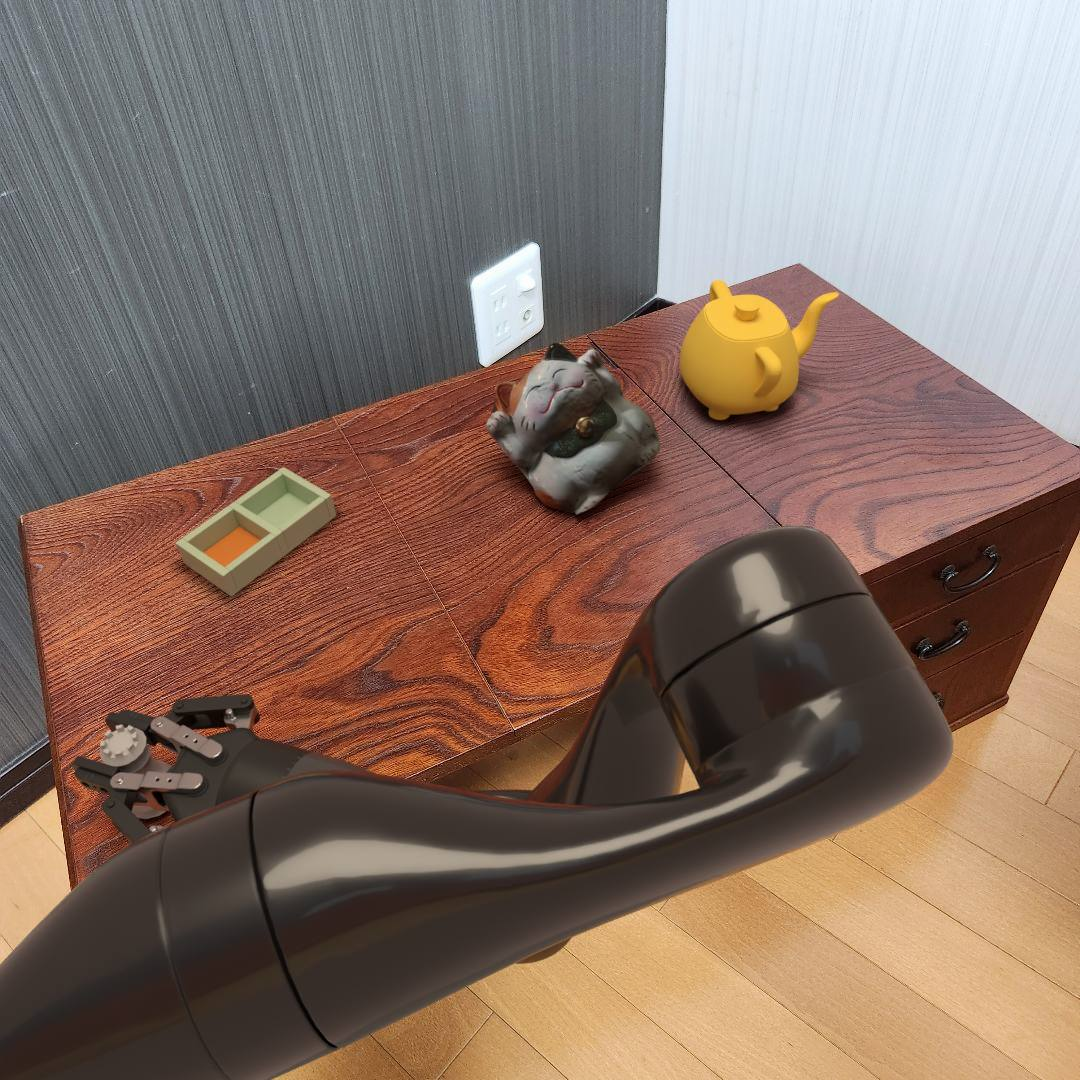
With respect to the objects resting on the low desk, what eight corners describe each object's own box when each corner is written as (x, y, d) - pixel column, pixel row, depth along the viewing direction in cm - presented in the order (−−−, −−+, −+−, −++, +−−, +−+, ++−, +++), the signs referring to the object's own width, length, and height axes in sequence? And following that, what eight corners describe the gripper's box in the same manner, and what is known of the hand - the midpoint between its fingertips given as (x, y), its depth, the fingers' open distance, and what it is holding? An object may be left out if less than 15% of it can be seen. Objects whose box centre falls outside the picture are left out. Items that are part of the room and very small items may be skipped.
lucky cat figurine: (553, 535, 91) (486, 415, 84) (520, 498, 101) (459, 389, 95) (682, 456, 92) (625, 332, 85) (636, 427, 102) (583, 315, 96)
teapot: (777, 449, 99) (796, 356, 90) (655, 409, 104) (661, 318, 96) (820, 379, 107) (841, 288, 98) (704, 346, 112) (714, 256, 104)
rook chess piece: (195, 792, 72) (162, 735, 67) (145, 833, 70) (107, 778, 64) (163, 759, 74) (128, 702, 69) (113, 798, 72) (73, 743, 66)
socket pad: (231, 597, 86) (223, 576, 84) (184, 563, 90) (175, 542, 87) (336, 515, 94) (331, 494, 92) (289, 487, 97) (283, 466, 95)
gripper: (337, 694, 67) (133, 640, 71) (234, 877, 57) (6, 802, 61) (355, 750, 72) (165, 697, 76) (264, 925, 63) (52, 854, 67)
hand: (95, 744), depth 69 cm, fingers closed on rook chess piece, 3 cm apart
